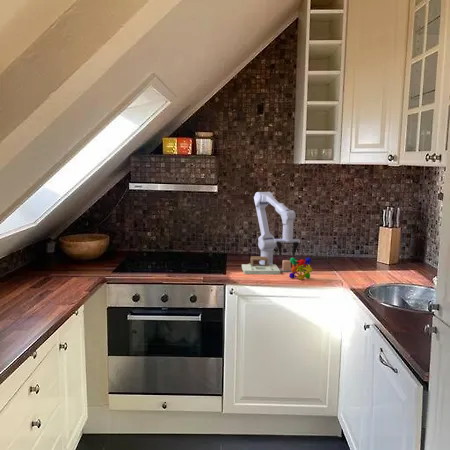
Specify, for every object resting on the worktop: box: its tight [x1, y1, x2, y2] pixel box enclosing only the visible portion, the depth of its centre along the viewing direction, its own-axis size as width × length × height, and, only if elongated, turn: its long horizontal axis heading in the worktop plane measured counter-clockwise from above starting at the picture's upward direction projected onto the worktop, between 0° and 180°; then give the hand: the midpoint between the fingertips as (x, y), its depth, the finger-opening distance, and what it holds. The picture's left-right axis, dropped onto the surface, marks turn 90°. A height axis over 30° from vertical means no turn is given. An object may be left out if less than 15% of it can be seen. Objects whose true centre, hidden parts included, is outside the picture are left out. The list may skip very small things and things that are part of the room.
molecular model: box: [289, 256, 313, 281], centre depth 256 cm, size 12×7×12 cm, turn 92°
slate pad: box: [278, 267, 292, 273], centre depth 275 cm, size 7×7×1 cm
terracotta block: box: [281, 259, 292, 271], centre depth 274 cm, size 4×4×5 cm
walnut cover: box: [249, 255, 268, 266], centre depth 278 cm, size 7×9×4 cm
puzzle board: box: [241, 262, 281, 275], centre depth 273 cm, size 16×20×3 cm
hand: (286, 255), depth 274 cm, fingers open, 7 cm apart
